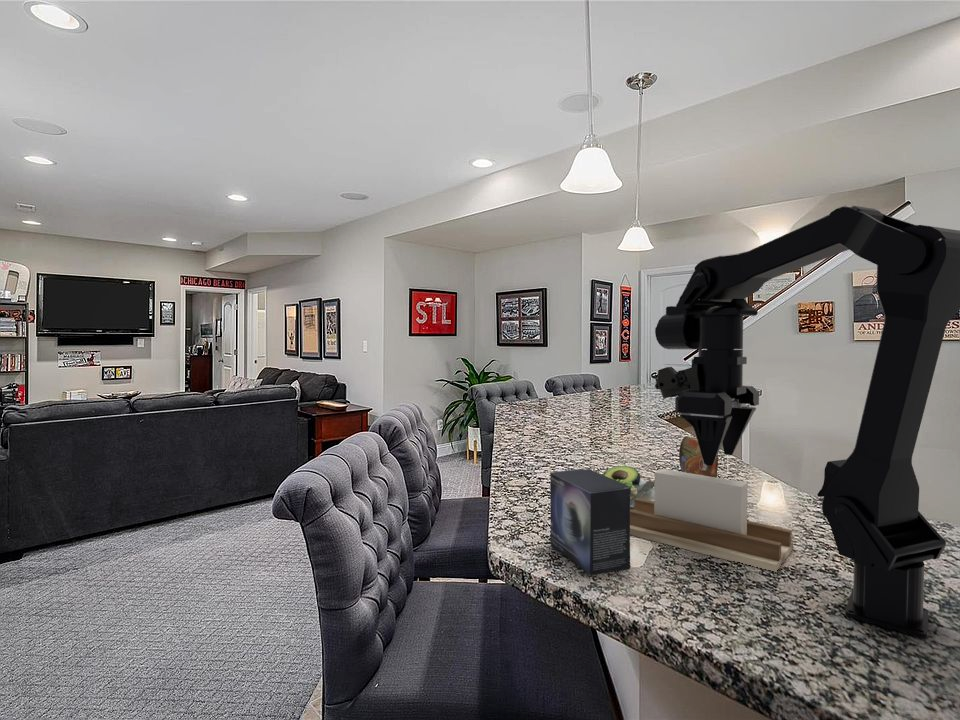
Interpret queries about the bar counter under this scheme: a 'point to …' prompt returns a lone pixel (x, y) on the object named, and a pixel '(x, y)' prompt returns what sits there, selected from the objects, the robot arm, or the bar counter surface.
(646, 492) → the salad plate
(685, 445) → the tin
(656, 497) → the door panel
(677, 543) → the floor track
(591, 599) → the bar counter surface
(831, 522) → the robot arm
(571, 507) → the small box
